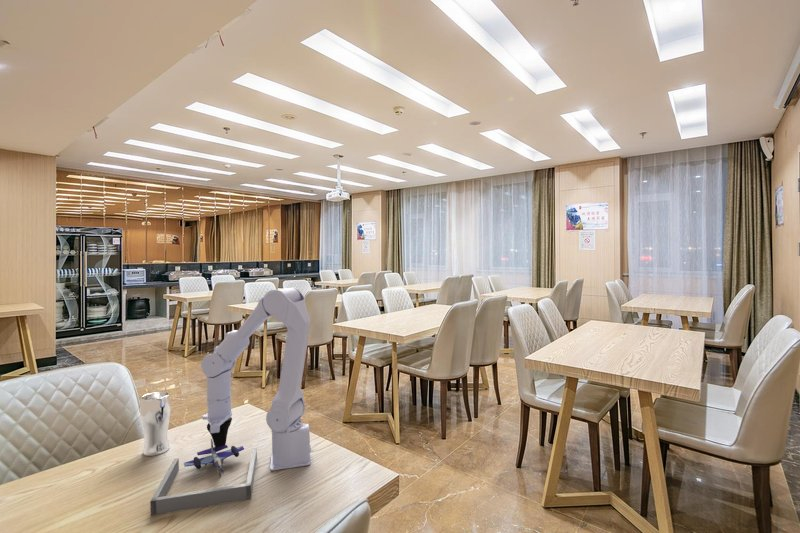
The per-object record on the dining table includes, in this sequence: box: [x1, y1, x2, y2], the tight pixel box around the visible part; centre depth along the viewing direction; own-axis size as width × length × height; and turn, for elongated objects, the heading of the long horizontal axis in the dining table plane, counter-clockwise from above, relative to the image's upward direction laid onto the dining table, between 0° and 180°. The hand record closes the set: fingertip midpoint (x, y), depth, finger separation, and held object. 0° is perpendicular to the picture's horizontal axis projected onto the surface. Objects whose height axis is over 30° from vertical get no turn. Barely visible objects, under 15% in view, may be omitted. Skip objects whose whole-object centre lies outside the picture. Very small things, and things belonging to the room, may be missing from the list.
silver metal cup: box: [139, 391, 171, 457], centre depth 106 cm, size 7×7×15 cm
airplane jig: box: [150, 447, 258, 516], centre depth 90 cm, size 19×17×3 cm
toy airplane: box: [183, 438, 245, 478], centre depth 97 cm, size 13×14×4 cm
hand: (220, 448), depth 104 cm, fingers closed
